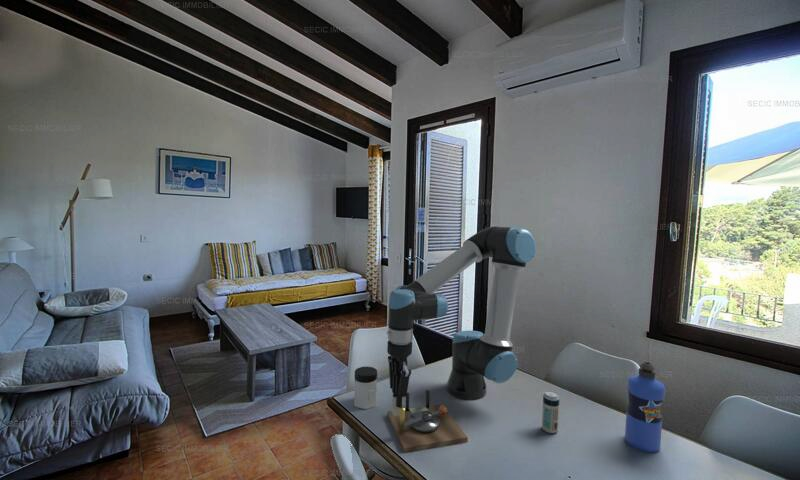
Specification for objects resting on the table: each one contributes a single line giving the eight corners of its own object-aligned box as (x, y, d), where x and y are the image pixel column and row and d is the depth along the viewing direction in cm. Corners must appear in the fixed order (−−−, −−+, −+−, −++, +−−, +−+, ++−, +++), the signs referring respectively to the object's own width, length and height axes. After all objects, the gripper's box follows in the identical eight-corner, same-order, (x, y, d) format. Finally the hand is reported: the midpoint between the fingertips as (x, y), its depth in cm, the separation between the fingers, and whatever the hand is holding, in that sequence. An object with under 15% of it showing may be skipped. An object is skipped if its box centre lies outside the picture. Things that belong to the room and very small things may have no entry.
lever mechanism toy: (441, 408, 131) (442, 387, 130) (467, 441, 112) (468, 418, 111) (387, 415, 125) (387, 394, 125) (404, 452, 106) (404, 427, 106)
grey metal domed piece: (436, 407, 127) (436, 385, 127) (456, 421, 119) (457, 397, 119) (389, 425, 116) (389, 401, 116) (408, 442, 108) (409, 416, 107)
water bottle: (618, 433, 117) (622, 356, 116) (647, 434, 117) (653, 357, 115) (635, 452, 108) (641, 369, 106) (668, 453, 108) (674, 370, 106)
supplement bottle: (557, 427, 120) (559, 391, 119) (558, 435, 116) (560, 398, 115) (541, 424, 122) (543, 389, 121) (541, 432, 117) (543, 396, 116)
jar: (359, 412, 127) (360, 378, 126) (349, 401, 134) (349, 369, 133) (382, 404, 132) (382, 372, 131) (371, 395, 139) (371, 364, 138)
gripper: (381, 335, 117) (378, 406, 119) (396, 349, 105) (393, 428, 107) (402, 332, 120) (400, 402, 122) (420, 346, 108) (416, 423, 110)
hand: (397, 414), depth 115 cm, fingers closed
